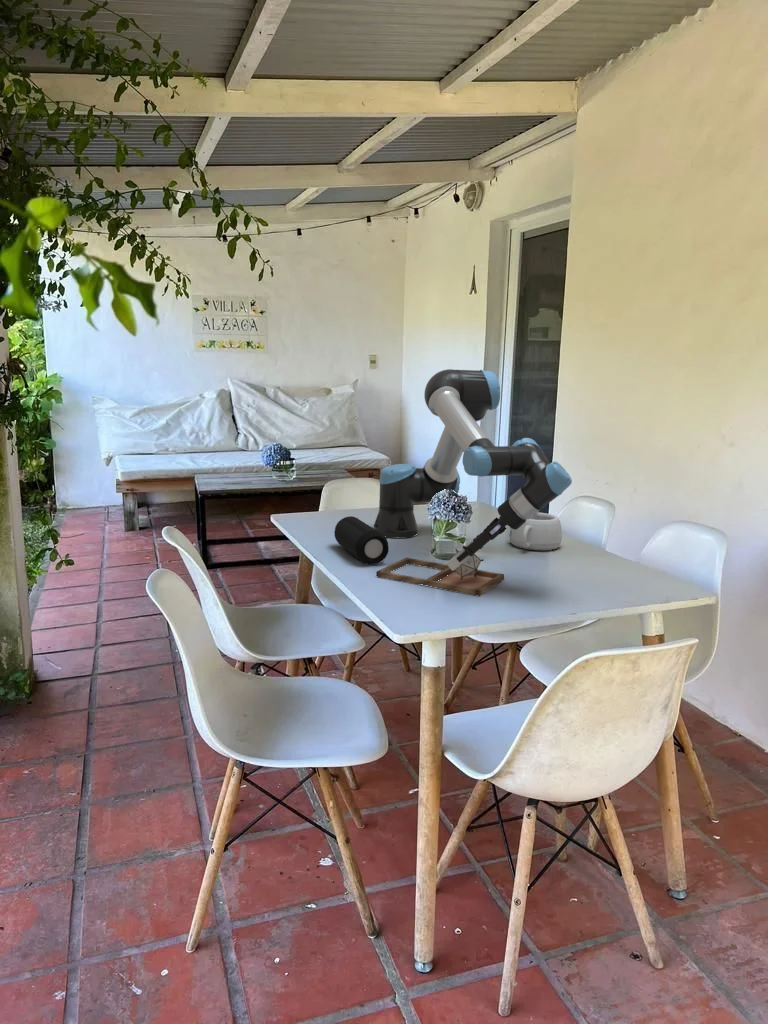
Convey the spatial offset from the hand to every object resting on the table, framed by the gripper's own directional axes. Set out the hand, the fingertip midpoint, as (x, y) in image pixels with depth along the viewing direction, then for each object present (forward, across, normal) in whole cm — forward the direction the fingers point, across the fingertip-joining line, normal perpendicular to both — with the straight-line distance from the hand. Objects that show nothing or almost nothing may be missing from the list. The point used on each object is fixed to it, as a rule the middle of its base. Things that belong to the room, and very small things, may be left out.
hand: (453, 562), depth 202 cm
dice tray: (+6, +1, -1) cm, 6 cm away
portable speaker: (+27, +14, +19) cm, 36 cm away
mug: (-7, +49, -14) cm, 51 cm away
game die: (+1, +1, -5) cm, 5 cm away
